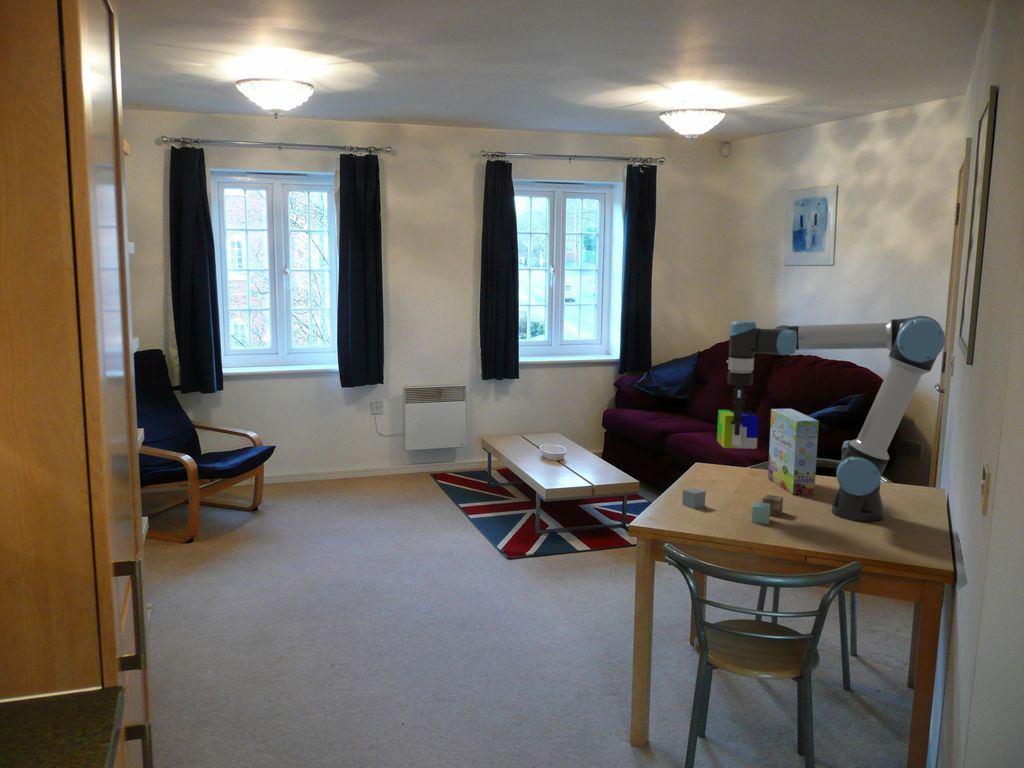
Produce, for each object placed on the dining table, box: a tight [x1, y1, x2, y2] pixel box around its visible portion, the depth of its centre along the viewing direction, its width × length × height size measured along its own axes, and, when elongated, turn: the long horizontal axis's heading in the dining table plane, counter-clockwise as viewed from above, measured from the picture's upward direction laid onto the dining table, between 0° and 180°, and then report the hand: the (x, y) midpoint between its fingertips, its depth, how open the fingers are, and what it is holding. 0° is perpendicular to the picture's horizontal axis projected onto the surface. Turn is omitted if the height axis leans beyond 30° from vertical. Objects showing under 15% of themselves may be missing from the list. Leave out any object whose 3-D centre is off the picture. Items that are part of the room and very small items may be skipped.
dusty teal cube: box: [751, 501, 771, 525], centre depth 256 cm, size 5×5×5 cm
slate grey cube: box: [681, 487, 707, 510], centre depth 271 cm, size 5×5×5 cm
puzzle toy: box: [716, 409, 759, 450], centre depth 264 cm, size 10×10×10 cm
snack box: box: [767, 408, 820, 496], centre depth 294 cm, size 22×9×26 cm, turn 6°
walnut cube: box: [762, 494, 784, 517], centre depth 264 cm, size 5×5×5 cm
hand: (736, 441), depth 264 cm, fingers closed on puzzle toy, 11 cm apart
